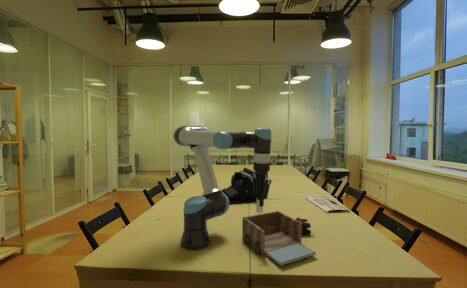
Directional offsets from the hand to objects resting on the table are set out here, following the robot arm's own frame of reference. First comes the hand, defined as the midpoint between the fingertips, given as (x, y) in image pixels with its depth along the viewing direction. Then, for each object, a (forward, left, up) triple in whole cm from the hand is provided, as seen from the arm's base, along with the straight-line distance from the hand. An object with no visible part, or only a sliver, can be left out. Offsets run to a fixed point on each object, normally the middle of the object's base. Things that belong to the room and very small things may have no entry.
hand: (259, 212), depth 106 cm
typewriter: (-87, +35, -21) cm, 96 cm away
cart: (-8, +13, -21) cm, 26 cm away
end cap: (-11, +37, -21) cm, 44 cm away
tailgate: (+2, +13, -20) cm, 24 cm away
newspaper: (-42, +88, -22) cm, 100 cm away
